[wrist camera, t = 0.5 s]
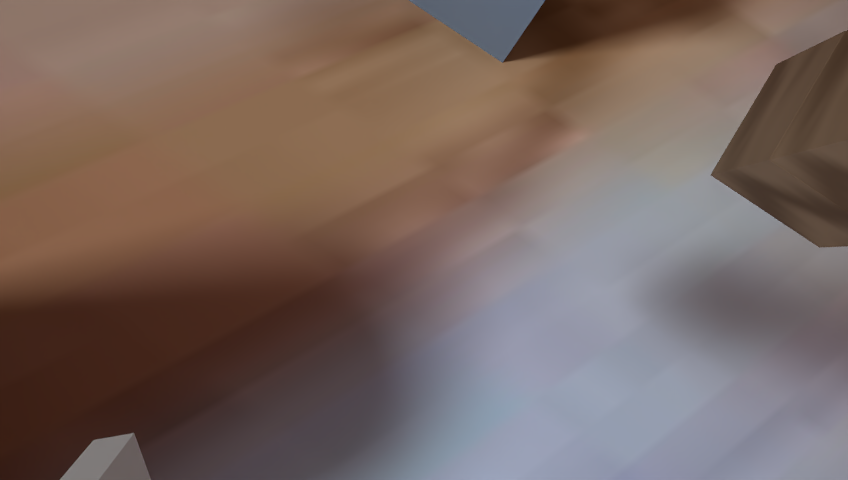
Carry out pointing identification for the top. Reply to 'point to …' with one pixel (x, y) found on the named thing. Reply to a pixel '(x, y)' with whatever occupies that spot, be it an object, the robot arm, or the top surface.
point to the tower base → (759, 139)
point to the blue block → (485, 20)
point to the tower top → (821, 133)
